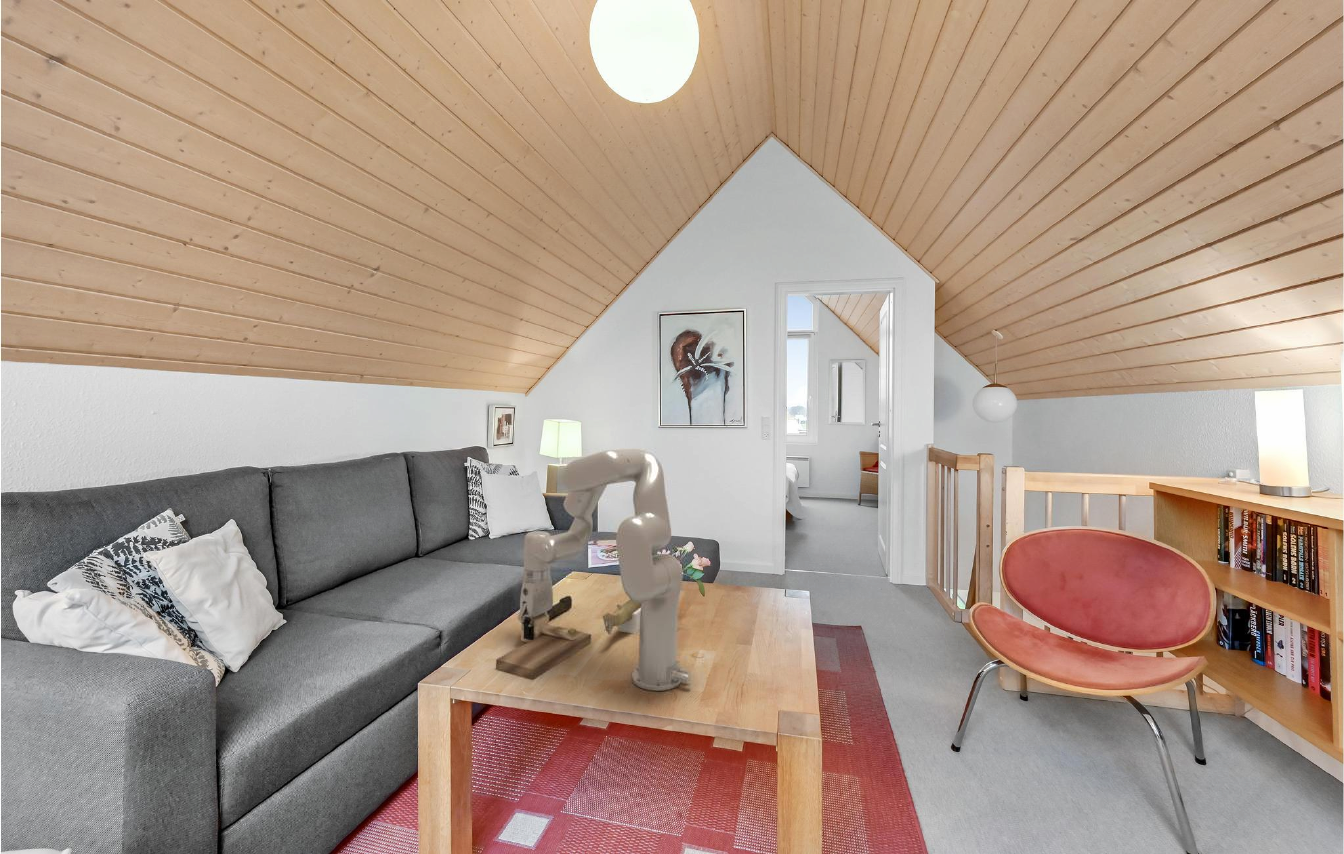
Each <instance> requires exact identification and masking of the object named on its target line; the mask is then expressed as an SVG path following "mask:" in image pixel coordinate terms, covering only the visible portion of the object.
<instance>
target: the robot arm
mask: <svg viewBox="0 0 1344 854" xmlns="http://www.w3.org/2000/svg"><path fill="white" fill-rule="evenodd" d="M561 479H562V484H563V487H564V488H565V489H566V490H568V491H569V492H568V493H567V495H566V497H565V499H564V501H563V508H564V510H565V511H566V512H567V514H569V515H570V516H572V517H574V518H573V521H572V524H571V525H570V528H569V530H567V532H563V533H558V534H555V535H551V533H549V532H547V531H542V530H534V531H530V532H527V533H526V534H525V536H524V548H523V549H524V551H523V552H524V553H523V555H524V556H523V580H522V585H521V590H520V598H519V599H520V600H519V613H518V614H517V618H516V619H517V620H518V621H519V622H520V623H521V625H524V636H523V637H524V639H528V640H533V636H534V626H532V625H533V620H534V617H536V616H538V615H541V614H547V615H548V613H549V611H550V609H551V608H552V606H553V605H554V604H553V603H554V592H553V583H552V582H553V581H552V576H551V565H552V564H555V563H558V562H562V561H565V560H568V559H573V558H575V557H577V556H578V555H580V554H581V553H582V552H583V551H584V549H585V548H586V546H587V544H588V542H589V541H590V538H591V536H592V534H593V524H594V523H593V522H594V521H593V520H594V519H593V517H592V516H593V515H592V514H593V512H594V511H595V509H596V507H597V505H598V503H599V501H600V499H601V498H602V495H603V493H604V492H605V490H606V488H607V486H608V485H613V484H620V483H627V482H634V483H635V485H634V488H633V495H632V501H633V502H632V503H633V507H634V515H632V516H629V517H627V518H625V519H624V520H623V521H622V522H621V523H620V524H619V526H618V528H617V533H616V537H615V543H616V553H617V558H618V565H619V571H620V572H619V573H620V579H621V585H622V588H623V591H624V592H625V594H626V595H627V597H628V598H629V600H630V599H631V600H633V601H635V602H642V604H641V612H640V630H639V638H638V639H639V641H638V642H639V643H638V645H639V646H638V667H637V668H635V669H634V670H633V671H632V673H631V681H632V683H634V684H635V685H636V686H637V687H639V688H641V689H645V690H649V691H657V692H659V691H660V692H661V691H669V690H672V689H675V688H676V687H678V686H679V685H680V684H681V683H682V682H683V683H689V682H690V680H691V674H690V670H689V669H685V668H681V667H680V665H681V663H680V662H681V661H679V660H677V650H678V649H677V647H678V644H677V642H678V618H679V601H680V595H681V589H682V584H683V579H684V578H683V575H684V574H683V568H682V565H681V563H680V561H679V559H677V558H676V557H675V556H674V555H671V554H669V553H658V554H654V555H653V552H655V551H657V550H660V549H662V548H665V547H666V546H667V545H668V544H669V543H670V542H671V539H672V527H671V522H670V514H669V507H668V500H667V496H666V495H667V494H666V487H665V475H664V470H663V467H662V464H661V462H660V460H659V459H658V458H657V457H656V456H655V455H654V454H653V453H652V452H649V451H646V450H643V449H637V448H625V449H624V448H623V449H610V450H609V449H608V450H602V451H598V452H596V453H592V454H590V455H587V456H583V457H581V458H576V459H574V460H571V461H570V462H568V464H566V466H565V468H564V469H563V471H562V475H561ZM528 617H530V620H528V619H527V618H528Z"/></svg>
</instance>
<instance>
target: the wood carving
mask: <svg viewBox="0 0 1344 854" xmlns="http://www.w3.org/2000/svg"><path fill="white" fill-rule="evenodd" d="M641 604H642V602H635V601H633V600H631V599H630V598H629V599H628V600H627V601H625V602H624V603H623V604H622V605H620V604H617V605H616V607H617V608H616V609H615V610H614V611H613V612H612V613H610V612H605V613H604V614H603V615H602V618H603V623H604V630H605V631H606V632H607V634H608V635H611V633H612V631H613V628H614V627H617V632H623V633H628V634H634V635H636V634H637V633H639V632H640V612H641Z"/></svg>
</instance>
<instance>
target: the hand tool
mask: <svg viewBox="0 0 1344 854" xmlns="http://www.w3.org/2000/svg"><path fill="white" fill-rule="evenodd" d="M558 601H559V602H557V603H556V604H553V606H552V608H551V609H550V611H549V613H548V615H549V621H550V620H552V619H553V618H555V617H557V616H558V615H560V614H562V613H563V614H564V613H567V612H569V610H571V609H572V605H573V599H572V596H570V595H567V596H564V597H561V598H560V599H559V600H558Z"/></svg>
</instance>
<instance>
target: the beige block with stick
mask: <svg viewBox="0 0 1344 854" xmlns="http://www.w3.org/2000/svg"><path fill="white" fill-rule="evenodd" d="M527 619H528V620H530V617H528V618H527ZM532 626H534V636H533V639H535V638H537V637H539V636H541V635H543V634H548V635H553V636H557V637H561V638H565V639H569V640H574V639H576V638H577V631H578V630H577V629H576V628H566V629H564V628H565V627H561V628H559V627H560V626H554V625H550V620H549V615H547V614H541V615H538V616H536V617H534V620H533V625H532ZM568 629H570V630H568ZM520 633H521V634H520V641H522V642H526V643H528V642H530V641H532V640H528V639H524V637H523V636H524V625H522V624H521V631H520Z"/></svg>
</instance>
